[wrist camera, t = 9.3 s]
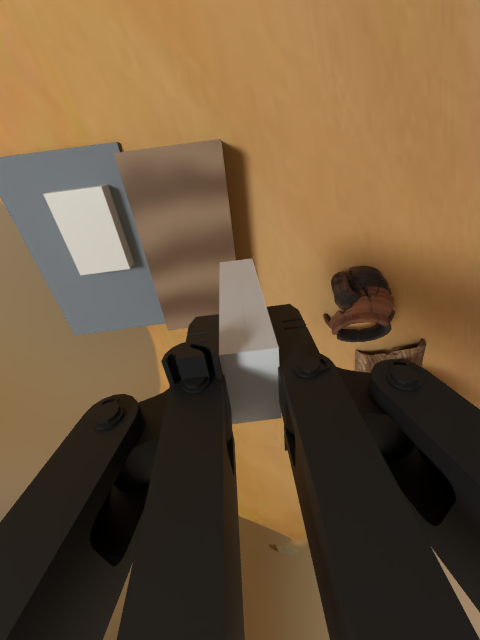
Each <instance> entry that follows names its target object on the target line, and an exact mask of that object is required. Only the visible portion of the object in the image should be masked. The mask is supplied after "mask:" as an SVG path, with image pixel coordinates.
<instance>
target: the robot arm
mask: <svg viewBox="0 0 480 640" xmlns="http://www.w3.org/2000/svg"><path fill="white" fill-rule="evenodd" d="M161 362H162V364H163V367H164V370H165V373H166V376H167V379H168V381H169V384H170V388H169V389H168V390H166V391H165V392H163V393H161V394H159V395H157V396H155V397H152V398H149V399H147V400H144V401H141V402H139V403H138V402H137V401H136V400H135V399H134V398H133V397H132V396H129V395H126V394H119V395H113V396H110V397H107V398H104V399H102V400H101V401H99V402H98V403H96V404H94V405H93V406H92V407H91V408H90V409H89V410H88V411H87V412H86V413H85V414H84V415H83V416H82V418H81V419H80V420H79V422H78V423H77V424H76V425H75V427H74V428H73V429H72V431H71V432H70V433H69V434H68V436H67V437H66V438H65V440H64V441H63V442H62V443H61V445H60V446H59V448H58V449H57V450H56V451H55V453H54V454H53V455H52V456H51V458H50V459H49V460H48V462H47V463H46V464H45V466H44V467H43V468H42V469H41V471H40V472H39V473H38V474H37V476H36V477H35V478H34V480H33V481H32V482H31V484H30V485H29V486H28V487H27V489H26V490H25V491H24V493H23V494H22V495H21V496H20V498H19V499H18V500H17V501H16V503H15V504H14V506H13V507H12V508H11V509H10V511H9V512H8V513H7V514H6V516H5V517H4V518H3V520H2V521H1V522H0V640H103V637H104V635H105V632H106V630H107V627H108V625H109V622H110V619H111V617H112V614H113V612H114V609H115V606H116V604H117V601H118V599H119V596H120V594H121V591H122V589H123V586H124V583H125V581H126V578H127V576H128V573H129V571H130V568H131V565H132V563H133V565H132V570H131V574H130V579H129V584H128V588H127V593H126V598H125V603H124V608H123V613H122V618H121V623H120V627H119V631H118V636H117V640H245V636H244V617H243V598H242V578H241V559H240V540H239V520H238V501H237V482H236V463H235V443H234V437H233V432H232V424H236V423H244V422H252V421H260V420H268V419H276V418H281V412H282V417H283V421H284V438H285V450H288V453H289V458H290V462H291V467H292V471H293V476H294V480H295V485H296V489H297V494H298V498H299V503H300V507H301V512H302V516H303V521H304V525H305V530H306V534H307V539H308V543H309V548H310V552H311V557H312V561H313V566H314V570H315V575H316V579H317V583H318V588H319V592H320V597H321V602H322V606H323V611H324V615H325V619H326V624H327V629H328V633H329V638H330V640H480V639H479V637H478V636H477V633H476V632H475V630H474V628H473V626H472V624H471V623H470V620H469V618H468V616H467V615H466V613H465V611H464V609H463V607H462V605H461V603H460V601H459V599H458V598H457V596H456V594H455V592H454V590H453V588H452V586H451V584H450V583H449V581H448V579H447V577H446V575H445V573H444V571H443V569H442V568H441V566H440V563H439V562H438V560H437V558H436V556H435V554H434V552H433V550H434V551H435V552H436V554H437V555H438V557H439V558H440V559H441V561H442V562H443V563H444V565H445V566H446V567H447V569H448V570H449V571H450V573H451V574H452V575H453V577H454V578H455V579H456V581H457V582H458V584H459V585H460V586H461V588H462V589H463V590H464V592H465V593H466V594H467V596H468V597H469V598H470V599H471V601H472V602H473V604H474V605H475V606H476V608H477V609H478V610H479V612H480V409H478V408H477V407H475V406H474V405H473V404H471V403H470V402H469V401H467V400H466V399H465V398H463V397H462V396H461V395H459V394H458V393H457V392H455V391H454V390H453V389H451V388H450V387H449V386H447V385H446V384H445V383H443V382H442V381H440V380H439V379H438V378H436V377H435V376H434V375H432V374H431V373H430V372H428V371H427V370H425V369H424V368H422V367H420V366H418V365H417V364H414V363H411V362H408V361H405V360H398V359H388V360H382V361H380V362H378V363H376V364H375V365H374V366H373V368H372V370H371V373H368V372H359V371H351V370H345V369H341V368H338V367H336V366H335V365H334V364H333V362H332V361H331V360H330V359H329V358H327V357H326V356H324V355H322V354H320V353H319V351H318V349H317V347H316V345H315V343H314V341H313V339H312V336H311V334H310V332H309V330H308V328H307V327H306V324H305V322H304V320H303V318H302V316H301V314H300V312H299V310H298V309H296V308H295V307H293V306H292V305H290V304H286V305H278V306H270V307H266V304H265V300H264V297H263V293H262V290H261V287H260V283H259V280H258V277H257V273H256V270H255V266H254V263H253V260H252V259H244V260H236V261H228V262H220V272H219V314H214V315H206V316H198V317H195V318H194V320H193V321H192V322H191V323H190V324H189V327H188V333H187V338H186V342H184V343H181V344H179V345H177V346H175V347H173V348H171V349H170V350H169V351H168V352H167V353H166V354H165V355H164V357H163V359H162V361H161ZM431 547H432V548H433V550H432V548H431Z"/></svg>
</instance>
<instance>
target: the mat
mask: <svg viewBox="0 0 480 640" xmlns="http://www.w3.org/2000/svg"><path fill="white" fill-rule="evenodd" d="M118 152H121V150H120V147H119V144H118V142H114V143H106V144H99V145H91V146H83V147H76V148H68V149H60V150H53V151H45V152H38V153H30V154H22V155H15V156H7V157H0V197H1V199H2V201H3V203H4V205H5V207H6V209H7V210H8V212H9V214H10V216H11V218H12V219H13V221H14V223H15V225H16V227H17V229H18V231H19V233H20V234H21V236H22V238H23V240H24V242H25V244H26V245H27V247H28V249H29V251H30V253H31V255H32V257H33V259H34V260H35V262H36V264H37V266H38V268H39V270H40V271H41V273H42V275H43V277H44V279H45V281H46V282H47V284H48V286H49V288H50V290H51V292H52V293H53V295H54V297H55V299H56V301H57V303H58V305H59V307H60V308H61V310H62V312H63V314H64V316H65V318H66V320H67V321H68V323H69V325H70V327H71V329H72V331H73V332H74V334H75V335H79V334H87V333H95V332H102V331H110V330H118V329H125V328H132V327H141V326H149V325H156V324H164V323H166V322H165V318H164V315H163V312H162V309H161V305H160V302H159V299H158V296H157V292H156V289H155V286H154V283H153V279H152V276H151V273H150V270H149V266H148V263H147V260H146V257H145V253H144V250H143V247H142V244H141V240H140V237H139V234H138V231H137V227H136V224H135V221H134V218H133V215H132V211H131V208H130V205H129V202H128V198H127V195H126V192H125V189H124V185H123V182H122V179H121V176H120V172H119V169H118V166H117V163H116V159H115V156H114V153H118ZM107 184H108V186H109V189H110V192H111V195H112V198H113V201H114V204H115V207H116V210H117V213H118V216H119V219H120V222H121V225H122V228H123V231H124V234H125V237H126V240H127V243H128V246H129V249H130V252H131V255H132V258H133V261H134V264H133V266H132V267H131V268H130V269H125V270H118V271H110V272H103V273H95V274H87V275H80V273H79V271H78V269H77V267H76V264H75V262H74V260H73V258H72V256H71V254H70V251H69V249H68V247H67V245H66V243H65V241H64V238H63V236H62V234H61V232H60V230H59V228H58V225H57V223H56V221H55V219H54V217H53V214H52V212H51V210H50V208H49V206H48V204H47V201H46V199H45V197H44V195H43V194H45V193H49V192H53V191H61V190H69V189H76V188H84V187H91V186H99V185H107Z"/></svg>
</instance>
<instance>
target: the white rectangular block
mask: <svg viewBox="0 0 480 640" xmlns="http://www.w3.org/2000/svg"><path fill="white" fill-rule="evenodd" d="M43 195H44V197H45V199H46V201H47V204H48V206H49V208H50V210H51V212H52V214H53V217H54V219H55V221H56V223H57V225H58V228H59V230H60V232H61V234H62V236H63V238H64V241H65V243H66V245H67V247H68V249H69V251H70V254H71V256H72V258H73V260H74V262H75V264H76V267H77V269H78V271H79V273H80V275H87V274H95V273H103V272H110V271H118V270H125V269H130V268H131V267H132V266H133V264H134V261H133V258H132V255H131V252H130V249H129V246H128V243H127V240H126V237H125V234H124V231H123V228H122V225H121V222H120V219H119V216H118V213H117V210H116V207H115V204H114V201H113V198H112V195H111V192H110V189H109V186H108V184H107V185H99V186H91V187H84V188H76V189H69V190H61V191H53V192H49V193H45V194H43Z"/></svg>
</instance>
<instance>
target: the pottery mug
mask: <svg viewBox="0 0 480 640" xmlns="http://www.w3.org/2000/svg"><path fill="white" fill-rule="evenodd" d="M350 272H351V274H347V273H346V272H338V273H337V274H335V275H334V276H333V278H332V280H331V285H332V290H333V293H334V298H335V303H336V304H337V305H338V307H339V308H341V309H347V310H346V311H345V312H344V313H342V312H341V311H338V312H337V313H336V314H335V315H334V316H333V317H332V318H331V319H330V317H329V316H328V315H326V314H323V316H324V320H325V322H326V324H327V325H328V326H329V327H330V328H331V329H332V334H333V335H337V339H338V340H341V341H346V342H365V341H371V340H375V339H378V338H381V337H383V336H385V335H386V334H388V333H389V332H390V330H391V325H390V322H391V320H392V318H393V316H394V313H395V311H394V310H393V307H394V299H393V297H392V296H391V295H390V294H391V292H390V289H389V285H388V282H387V280H386V279H385V278H384V277H383V275H382V273H381V272H380V271H378V270H377V269H375V268H372V267H367V266H359V267H352V268H350ZM361 289H363V290H364V291H365V293H366V295H361V293H360V292H359V291H360V290H361ZM364 322H372V323H377V324H376V325H375V326H373V327H371V328H365V329H361V330H357V329H343V327H346V326H348V325H350V324H355V323H364ZM381 325H383V326H381Z"/></svg>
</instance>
